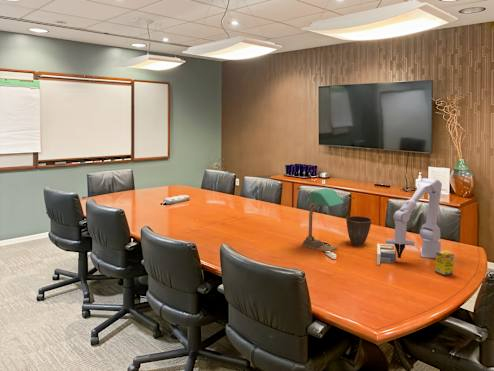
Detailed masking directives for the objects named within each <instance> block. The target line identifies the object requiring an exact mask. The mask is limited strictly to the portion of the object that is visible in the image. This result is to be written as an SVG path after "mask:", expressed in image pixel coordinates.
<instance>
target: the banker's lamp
mask: <svg viewBox="0 0 494 371" xmlns="http://www.w3.org/2000/svg"><path fill="white" fill-rule="evenodd" d="M307 203H308V208H310V210H309V212H308V215H309V216H308V235H307V236H306V238H305V239H304V240H303V241H302V244H301V246H302V247H305V248H308V249H312V250H317V251H320V252H323V251H330V252H331V253H333V252H335V251H338V246H336V247H335V246H331V245H327V244H325V243H324V242H323V241H321V240H319V239H315V236H313V213H314V210H315V209H318V208H320V207H322V206H325V207H333V206H337V205H340V204H344V201H343V200H342V199H341V197H340V196H339V194H338V193H337V192H336V191H335V189H331V188H322V189H317V190H312V191H311V192H310V193H309V197H308V201H307ZM312 204H315V206H313V207H312Z"/></svg>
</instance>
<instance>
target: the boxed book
mask: <svg viewBox="0 0 494 371" xmlns="http://www.w3.org/2000/svg"><path fill="white" fill-rule="evenodd" d="M380 253H381V255H380V257H385V258H391V261H390V263H394V262H397V251H396V249H394V250H384V249H380Z"/></svg>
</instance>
